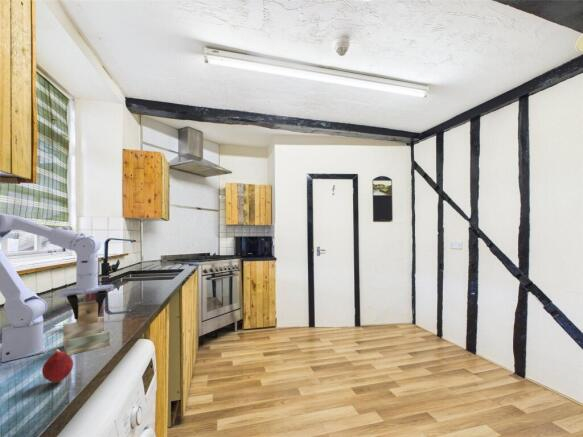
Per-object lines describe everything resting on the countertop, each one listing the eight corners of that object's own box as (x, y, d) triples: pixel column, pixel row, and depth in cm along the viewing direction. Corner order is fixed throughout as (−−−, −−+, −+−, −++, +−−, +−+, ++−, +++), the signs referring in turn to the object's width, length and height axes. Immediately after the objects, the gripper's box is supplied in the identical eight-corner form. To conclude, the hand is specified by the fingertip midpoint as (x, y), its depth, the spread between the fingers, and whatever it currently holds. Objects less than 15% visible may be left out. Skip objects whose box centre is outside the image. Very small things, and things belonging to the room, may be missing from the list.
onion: (78, 376, 74) (78, 344, 74) (61, 388, 68) (61, 354, 69) (54, 377, 74) (55, 344, 74) (35, 389, 68) (36, 354, 68)
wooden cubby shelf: (66, 355, 87) (67, 331, 87) (63, 345, 94) (63, 323, 94) (109, 344, 94) (109, 322, 94) (103, 336, 101) (103, 316, 102)
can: (82, 327, 112) (82, 290, 112) (88, 322, 118) (89, 287, 118) (100, 325, 113) (100, 289, 114) (106, 320, 120) (106, 286, 120)
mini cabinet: (78, 326, 90) (79, 306, 90) (76, 322, 94) (76, 303, 94) (98, 322, 93) (98, 303, 93) (95, 318, 97) (95, 300, 97)
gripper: (60, 278, 87) (59, 324, 86) (115, 272, 96) (115, 314, 96) (57, 275, 92) (57, 319, 91) (111, 270, 102) (110, 310, 101)
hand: (87, 316), depth 94 cm, fingers closed on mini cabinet, 5 cm apart
